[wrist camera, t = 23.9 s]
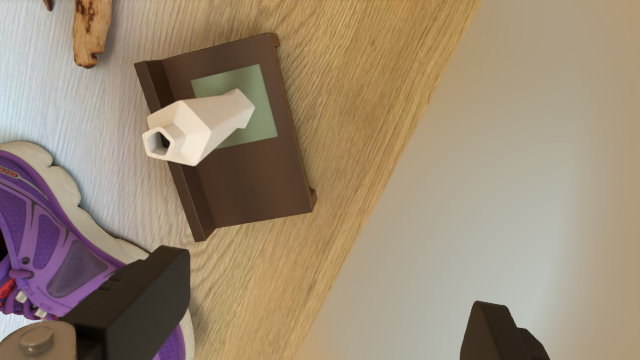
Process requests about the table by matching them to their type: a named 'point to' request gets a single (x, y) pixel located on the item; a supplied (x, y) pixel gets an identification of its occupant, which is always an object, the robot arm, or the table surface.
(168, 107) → the cream faceted vase
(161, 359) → the running shoe
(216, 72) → the shelf
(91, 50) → the lashed bone hook
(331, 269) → the table surface
